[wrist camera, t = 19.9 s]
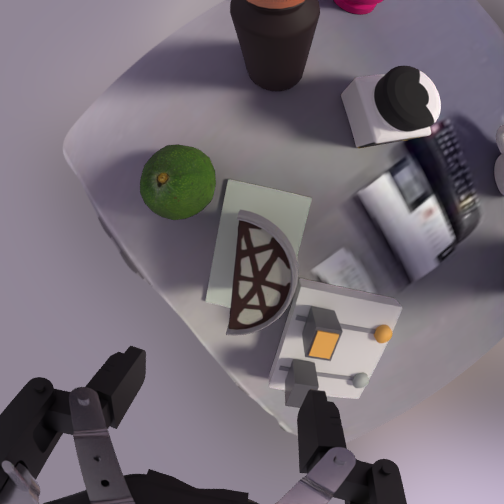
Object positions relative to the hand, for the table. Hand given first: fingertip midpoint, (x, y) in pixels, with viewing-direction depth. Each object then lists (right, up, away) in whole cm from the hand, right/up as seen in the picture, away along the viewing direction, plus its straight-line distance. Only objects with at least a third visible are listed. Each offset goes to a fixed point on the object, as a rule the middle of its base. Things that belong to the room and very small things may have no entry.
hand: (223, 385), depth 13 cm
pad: (+2, +6, +23) cm, 24 cm away
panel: (+12, -6, +26) cm, 29 cm away
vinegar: (+4, +29, +17) cm, 34 cm away
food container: (+3, +6, +23) cm, 24 cm away
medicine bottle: (+16, +23, +18) cm, 33 cm away
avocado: (-6, +15, +22) cm, 27 cm away
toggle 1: (+8, -10, +24) cm, 27 cm away
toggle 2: (+9, -2, +21) cm, 24 cm away
